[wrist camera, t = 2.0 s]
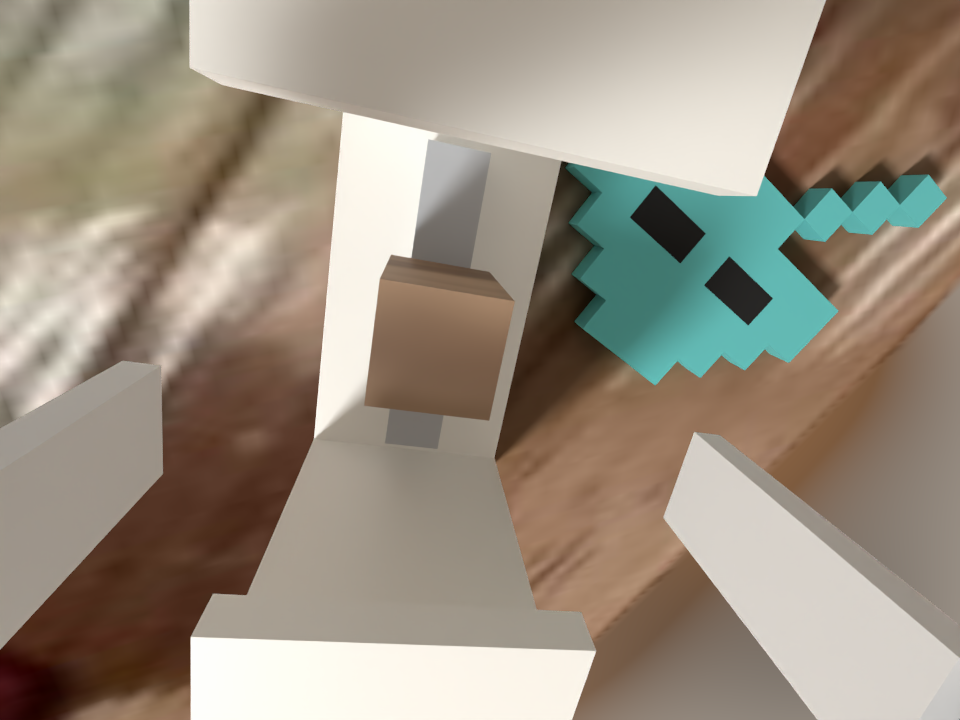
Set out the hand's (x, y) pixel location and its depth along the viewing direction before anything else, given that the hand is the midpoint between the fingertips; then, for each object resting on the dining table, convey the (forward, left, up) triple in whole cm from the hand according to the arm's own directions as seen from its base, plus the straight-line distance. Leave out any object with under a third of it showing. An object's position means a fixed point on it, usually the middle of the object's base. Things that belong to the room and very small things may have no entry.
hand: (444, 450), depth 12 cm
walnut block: (0, 0, -14) cm, 14 cm away
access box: (0, 0, -19) cm, 19 cm away
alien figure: (-7, +17, -19) cm, 27 cm away
